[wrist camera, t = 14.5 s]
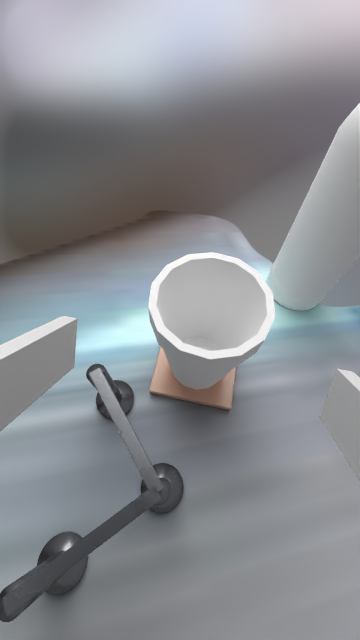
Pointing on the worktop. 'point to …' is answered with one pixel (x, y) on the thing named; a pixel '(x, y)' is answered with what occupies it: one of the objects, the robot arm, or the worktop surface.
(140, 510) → the bent rail
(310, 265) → the bottle
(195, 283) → the foam cup
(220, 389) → the coaster
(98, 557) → the worktop surface
